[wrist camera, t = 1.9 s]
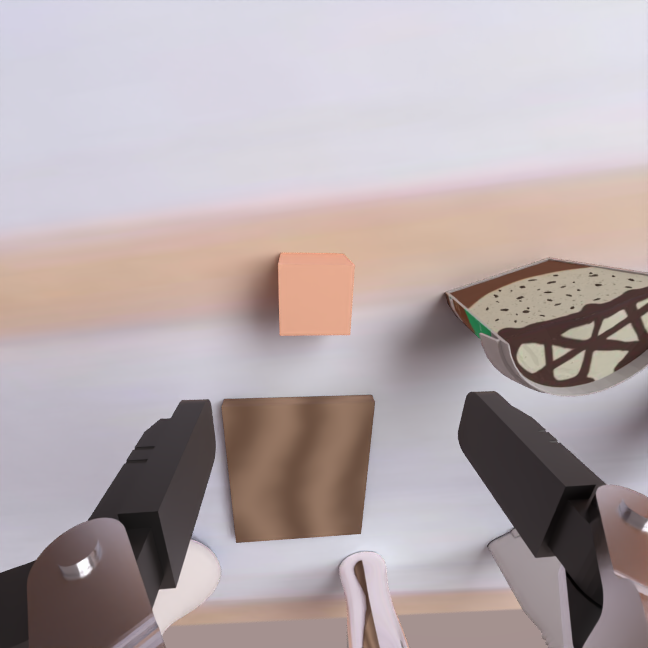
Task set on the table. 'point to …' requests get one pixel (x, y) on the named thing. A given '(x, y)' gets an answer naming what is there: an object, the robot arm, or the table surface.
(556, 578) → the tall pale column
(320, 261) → the terracotta cube
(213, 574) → the flower in vase
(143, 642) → the robot arm
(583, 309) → the food container
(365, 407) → the walnut board
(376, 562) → the beer glass
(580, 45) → the table surface
